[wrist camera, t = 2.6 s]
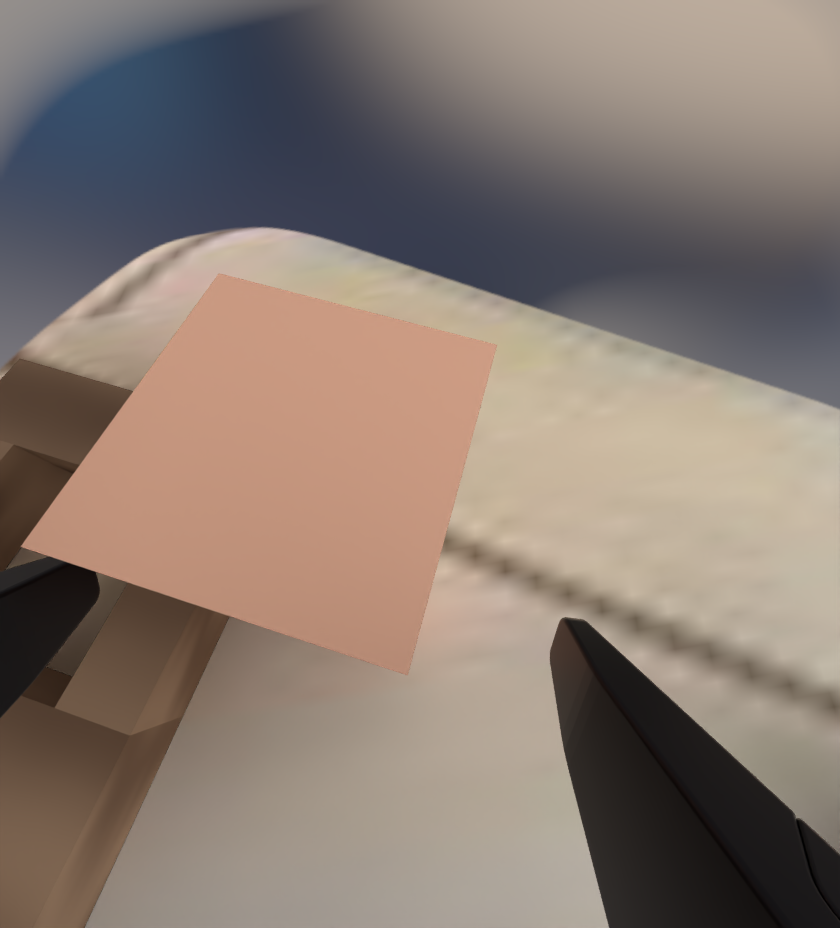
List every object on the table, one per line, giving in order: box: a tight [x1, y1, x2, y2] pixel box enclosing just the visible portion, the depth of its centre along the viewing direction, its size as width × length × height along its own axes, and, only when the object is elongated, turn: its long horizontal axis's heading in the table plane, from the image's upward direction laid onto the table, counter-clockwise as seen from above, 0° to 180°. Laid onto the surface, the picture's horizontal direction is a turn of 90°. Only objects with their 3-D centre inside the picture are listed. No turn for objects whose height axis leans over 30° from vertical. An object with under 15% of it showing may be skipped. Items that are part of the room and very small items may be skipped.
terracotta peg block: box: [21, 274, 497, 675], centre depth 10 cm, size 4×4×13 cm
